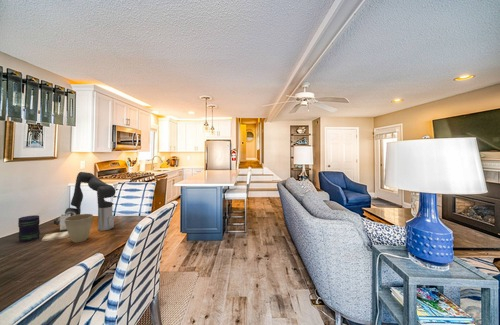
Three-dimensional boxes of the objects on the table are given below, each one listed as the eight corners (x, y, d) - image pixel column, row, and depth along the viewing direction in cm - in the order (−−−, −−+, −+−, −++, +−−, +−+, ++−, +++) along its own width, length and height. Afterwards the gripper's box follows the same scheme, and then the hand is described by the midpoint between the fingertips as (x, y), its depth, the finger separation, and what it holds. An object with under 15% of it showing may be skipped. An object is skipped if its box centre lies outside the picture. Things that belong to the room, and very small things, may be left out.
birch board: (75, 232, 154) (75, 230, 154) (73, 236, 146) (73, 234, 146) (46, 236, 146) (46, 234, 146) (41, 241, 137) (41, 239, 137)
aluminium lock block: (70, 229, 161) (70, 213, 160) (69, 231, 155) (69, 215, 155) (61, 230, 158) (61, 214, 157) (59, 232, 153) (59, 216, 152)
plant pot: (75, 236, 147) (75, 213, 146) (98, 235, 148) (98, 213, 148) (58, 245, 132) (58, 220, 132) (83, 245, 133) (83, 220, 133)
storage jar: (24, 237, 143) (24, 216, 143) (43, 235, 147) (42, 214, 146) (14, 243, 134) (14, 220, 133) (34, 241, 137) (34, 218, 137)
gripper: (57, 213, 165) (51, 219, 151) (80, 211, 172) (77, 216, 158) (57, 223, 165) (51, 229, 151) (80, 220, 172) (77, 226, 159)
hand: (64, 222), depth 155 cm, fingers open, 8 cm apart
